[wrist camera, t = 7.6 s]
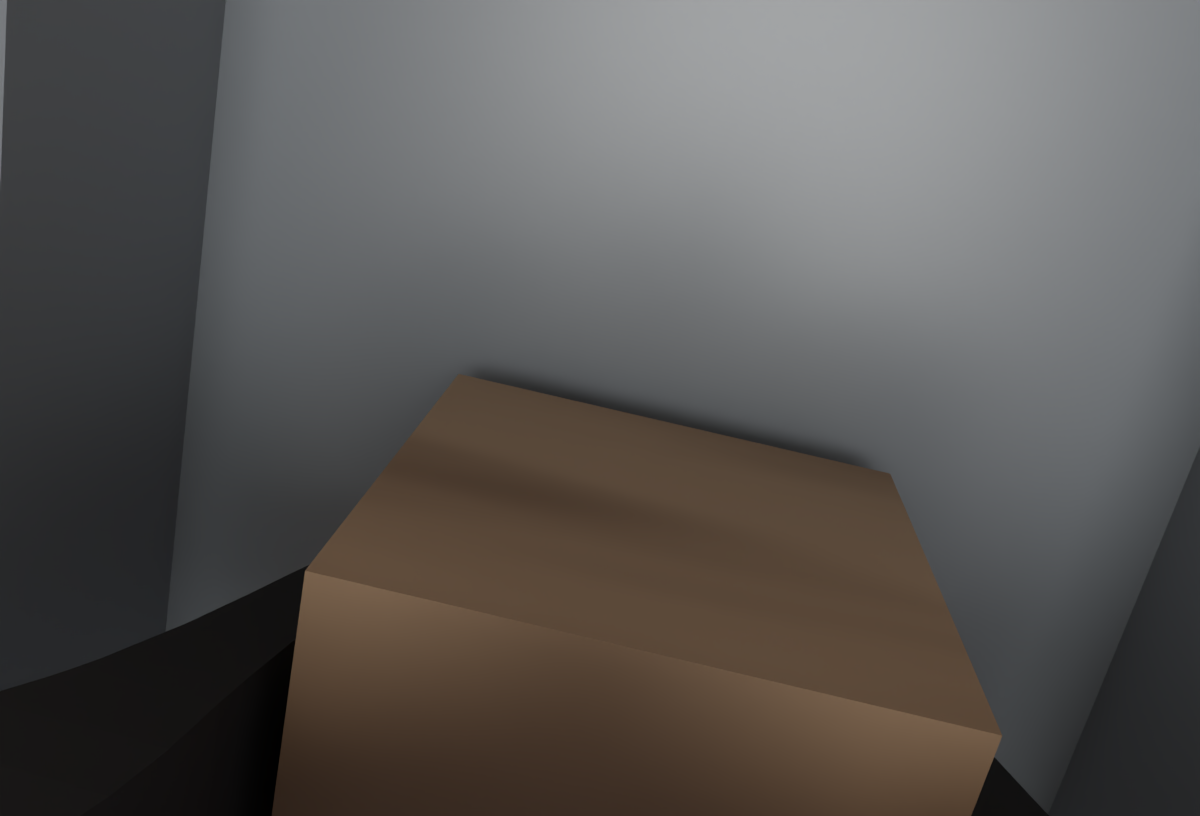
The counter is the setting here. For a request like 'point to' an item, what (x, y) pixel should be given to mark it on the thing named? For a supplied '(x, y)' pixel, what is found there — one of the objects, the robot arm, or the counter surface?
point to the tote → (622, 300)
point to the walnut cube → (624, 631)
